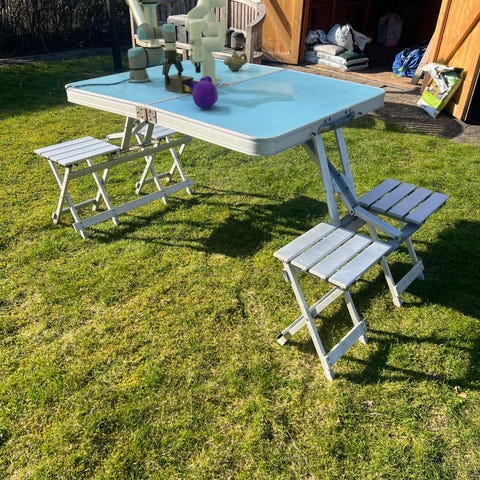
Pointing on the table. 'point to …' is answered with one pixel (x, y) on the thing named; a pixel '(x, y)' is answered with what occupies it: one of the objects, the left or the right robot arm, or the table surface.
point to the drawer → (189, 89)
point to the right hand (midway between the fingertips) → (198, 72)
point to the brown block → (177, 83)
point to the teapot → (235, 61)
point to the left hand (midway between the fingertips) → (174, 83)
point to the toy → (203, 92)
